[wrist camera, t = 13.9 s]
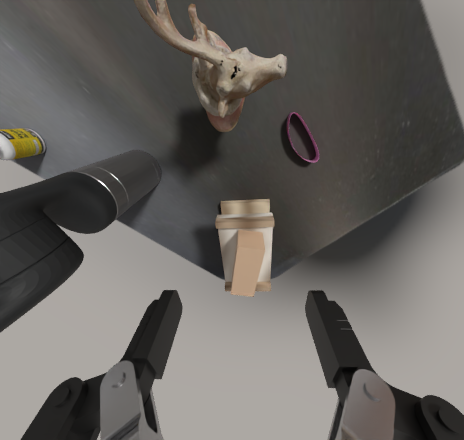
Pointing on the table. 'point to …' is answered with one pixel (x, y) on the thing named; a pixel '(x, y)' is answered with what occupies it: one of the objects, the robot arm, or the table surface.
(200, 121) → the table surface
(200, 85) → the decorative bust
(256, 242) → the tan block
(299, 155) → the headband
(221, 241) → the display stand
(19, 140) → the supplement bottle
